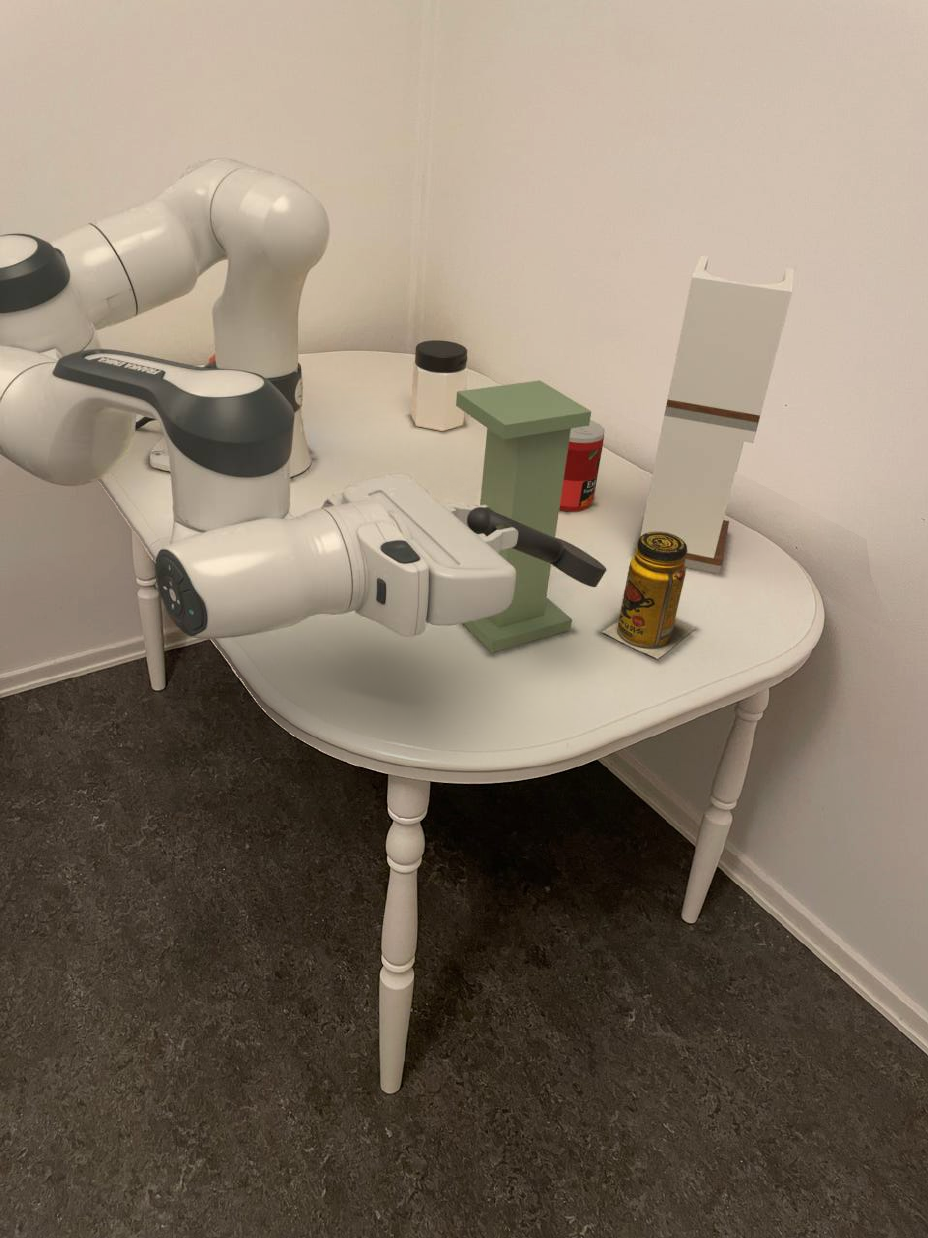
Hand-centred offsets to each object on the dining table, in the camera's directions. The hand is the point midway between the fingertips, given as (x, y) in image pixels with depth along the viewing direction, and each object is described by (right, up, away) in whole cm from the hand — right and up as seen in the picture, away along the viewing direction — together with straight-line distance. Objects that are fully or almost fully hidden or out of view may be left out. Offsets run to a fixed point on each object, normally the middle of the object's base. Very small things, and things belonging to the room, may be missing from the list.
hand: (502, 524), depth 86 cm
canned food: (+11, +8, +49) cm, 51 cm away
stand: (0, -9, +22) cm, 24 cm away
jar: (-8, +24, +70) cm, 74 cm away
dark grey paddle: (+3, -2, +4) cm, 5 cm away
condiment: (+18, -10, +23) cm, 31 cm away
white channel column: (+25, +1, +41) cm, 48 cm away
